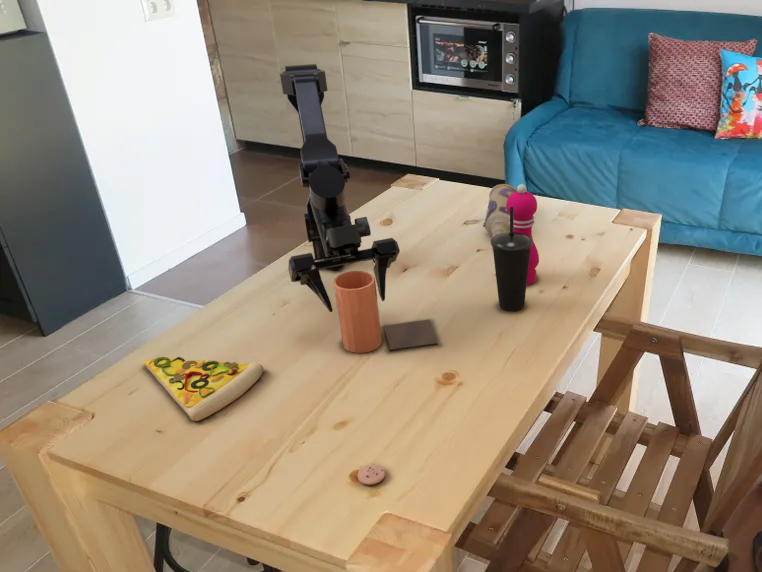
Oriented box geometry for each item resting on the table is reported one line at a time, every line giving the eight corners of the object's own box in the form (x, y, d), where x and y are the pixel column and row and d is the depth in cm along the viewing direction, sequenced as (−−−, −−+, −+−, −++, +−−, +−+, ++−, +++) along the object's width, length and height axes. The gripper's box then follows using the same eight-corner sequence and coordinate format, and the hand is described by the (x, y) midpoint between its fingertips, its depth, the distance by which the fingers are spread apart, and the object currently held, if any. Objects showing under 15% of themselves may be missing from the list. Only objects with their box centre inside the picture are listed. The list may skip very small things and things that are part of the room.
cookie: (388, 467, 107) (387, 461, 106) (382, 486, 104) (382, 481, 103) (361, 466, 107) (360, 460, 107) (355, 485, 104) (354, 480, 103)
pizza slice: (203, 426, 115) (198, 410, 113) (108, 390, 122) (102, 375, 120) (272, 374, 126) (268, 359, 124) (181, 344, 133) (177, 330, 131)
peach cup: (336, 348, 132) (325, 285, 125) (355, 329, 137) (346, 268, 130) (370, 356, 130) (362, 292, 123) (388, 336, 136) (381, 274, 128)
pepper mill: (497, 283, 152) (496, 188, 140) (511, 268, 157) (511, 175, 146) (531, 290, 150) (533, 194, 138) (543, 274, 155) (546, 180, 143)
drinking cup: (484, 309, 143) (482, 211, 132) (503, 292, 149) (502, 196, 137) (520, 319, 140) (521, 219, 129) (538, 301, 146) (540, 203, 134)
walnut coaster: (390, 351, 132) (390, 349, 131) (384, 327, 138) (384, 325, 138) (437, 344, 133) (437, 342, 133) (429, 321, 140) (429, 319, 140)
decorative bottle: (489, 208, 183) (488, 182, 179) (519, 209, 183) (520, 183, 179) (478, 255, 162) (478, 226, 158) (513, 256, 162) (514, 228, 158)
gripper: (279, 211, 120) (305, 302, 118) (391, 193, 127) (417, 279, 125) (278, 238, 131) (302, 322, 129) (382, 220, 137) (406, 300, 135)
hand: (357, 305), depth 129 cm, fingers open, 9 cm apart
